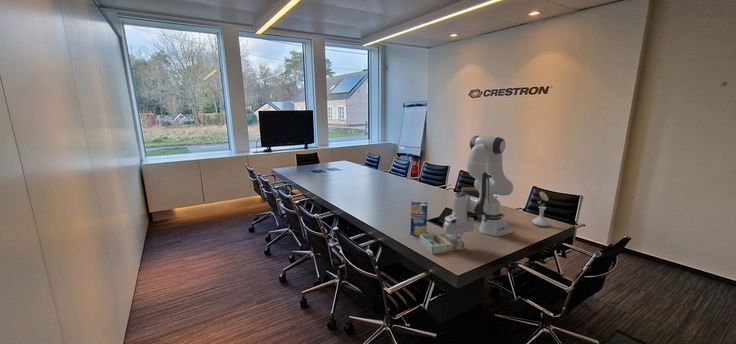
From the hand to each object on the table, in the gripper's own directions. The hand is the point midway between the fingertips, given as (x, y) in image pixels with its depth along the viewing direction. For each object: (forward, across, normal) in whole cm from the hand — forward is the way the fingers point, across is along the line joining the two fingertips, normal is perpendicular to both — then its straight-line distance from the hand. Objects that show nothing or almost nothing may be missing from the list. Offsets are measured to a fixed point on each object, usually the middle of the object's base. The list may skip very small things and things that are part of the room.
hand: (458, 238), depth 191 cm
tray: (+5, +15, -4) cm, 17 cm away
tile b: (+1, +4, 0) cm, 4 cm away
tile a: (+2, +16, -8) cm, 18 cm away
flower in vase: (+5, -80, -16) cm, 82 cm away
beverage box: (+6, +15, -26) cm, 31 cm away
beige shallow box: (+5, +4, -4) cm, 8 cm away
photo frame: (+5, -41, -42) cm, 59 cm away
